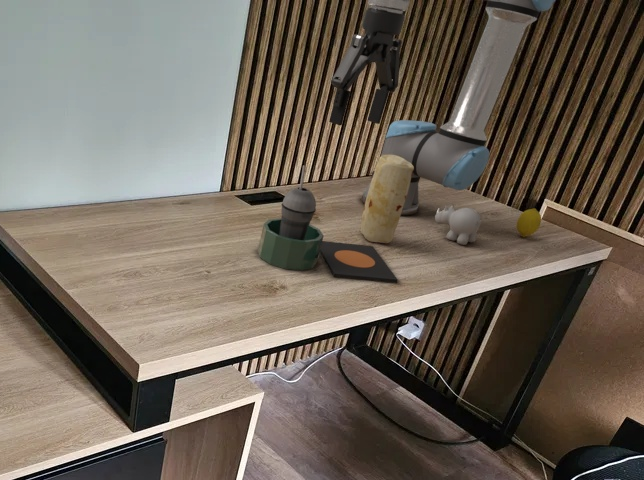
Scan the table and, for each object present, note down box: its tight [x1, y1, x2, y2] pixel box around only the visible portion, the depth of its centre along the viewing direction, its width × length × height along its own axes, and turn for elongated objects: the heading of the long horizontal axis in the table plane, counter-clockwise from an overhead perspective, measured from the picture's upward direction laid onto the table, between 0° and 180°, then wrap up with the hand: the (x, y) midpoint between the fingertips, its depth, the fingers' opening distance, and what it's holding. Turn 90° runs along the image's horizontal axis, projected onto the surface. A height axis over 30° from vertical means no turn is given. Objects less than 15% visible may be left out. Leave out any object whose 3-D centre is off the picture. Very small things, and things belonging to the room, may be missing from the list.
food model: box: [360, 155, 414, 244], centre depth 163 cm, size 10×7×20 cm
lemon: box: [515, 207, 542, 238], centre depth 182 cm, size 6×6×8 cm
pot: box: [257, 217, 325, 271], centre depth 149 cm, size 13×13×6 cm
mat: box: [319, 240, 399, 284], centre depth 153 cm, size 18×14×1 cm
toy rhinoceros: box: [434, 204, 482, 246], centre depth 174 cm, size 7×12×8 cm, turn 35°
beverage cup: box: [279, 165, 317, 240], centre depth 145 cm, size 7×7×20 cm
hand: (354, 123), depth 142 cm, fingers open, 13 cm apart
